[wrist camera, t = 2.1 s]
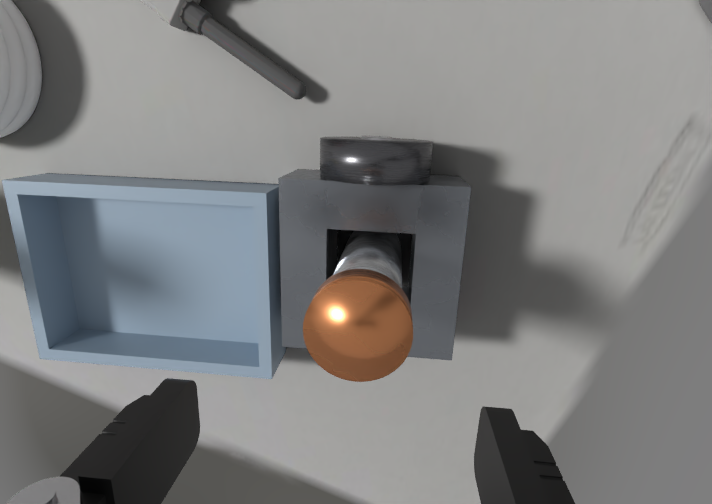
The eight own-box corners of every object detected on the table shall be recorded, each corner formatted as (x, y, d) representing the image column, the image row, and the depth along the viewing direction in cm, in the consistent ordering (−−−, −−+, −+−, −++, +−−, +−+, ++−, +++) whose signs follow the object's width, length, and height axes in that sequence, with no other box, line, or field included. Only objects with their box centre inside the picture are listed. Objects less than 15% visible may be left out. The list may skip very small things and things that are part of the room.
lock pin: (409, 218, 27) (417, 285, 16) (405, 283, 28) (409, 386, 17) (341, 215, 27) (302, 278, 16) (339, 279, 29) (303, 377, 18)
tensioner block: (463, 137, 25) (481, 143, 20) (444, 324, 29) (455, 374, 23) (297, 131, 26) (269, 135, 20) (299, 314, 30) (275, 360, 24)
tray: (282, 184, 27) (266, 193, 24) (285, 351, 31) (271, 379, 27) (48, 173, 29) (1, 180, 25) (77, 334, 32) (39, 358, 29)
